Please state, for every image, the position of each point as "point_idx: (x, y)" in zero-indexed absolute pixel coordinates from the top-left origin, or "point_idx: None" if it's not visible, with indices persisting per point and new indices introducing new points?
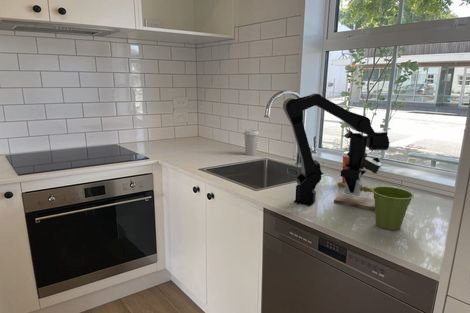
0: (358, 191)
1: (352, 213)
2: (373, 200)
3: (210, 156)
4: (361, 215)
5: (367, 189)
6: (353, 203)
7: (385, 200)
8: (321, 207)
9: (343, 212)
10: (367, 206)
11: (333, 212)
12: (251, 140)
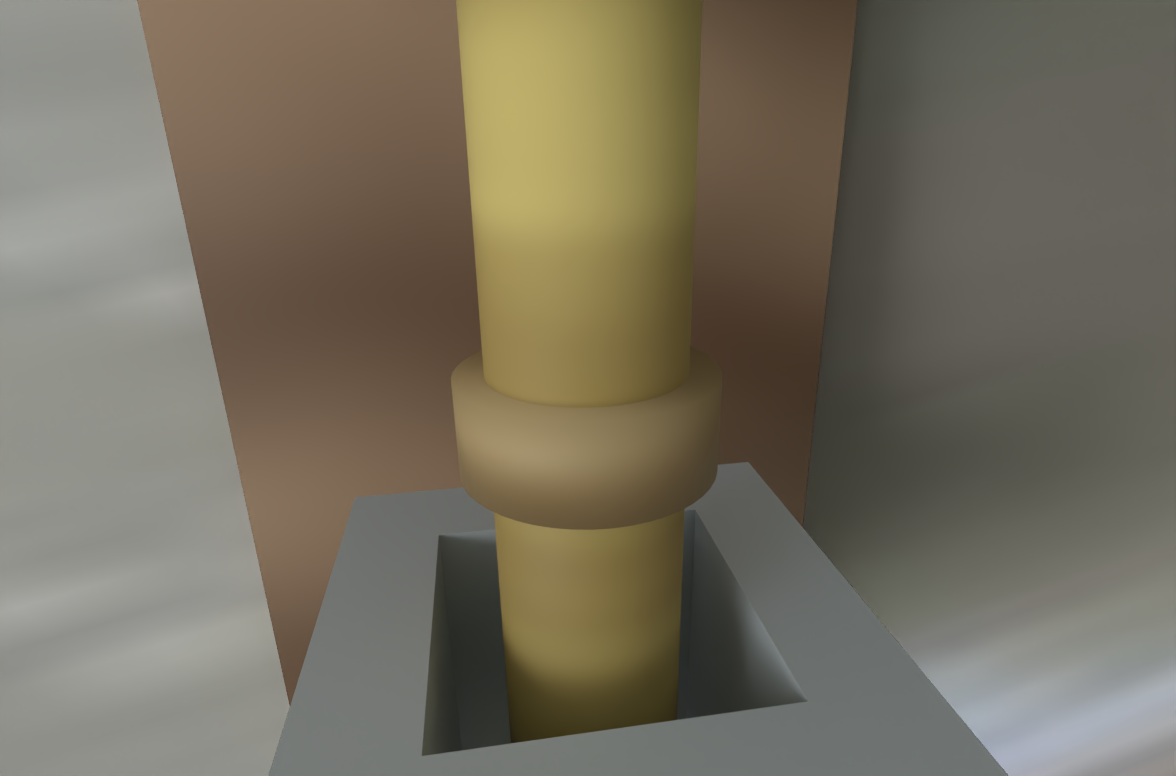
0: (813, 556)
1: (1123, 328)
2: (290, 100)
3: None
4: (1172, 163)
5: (688, 335)
6: (810, 449)
7: None
8: (1027, 750)
9: (1122, 459)
10: (838, 144)
11: (1165, 568)
12: None
